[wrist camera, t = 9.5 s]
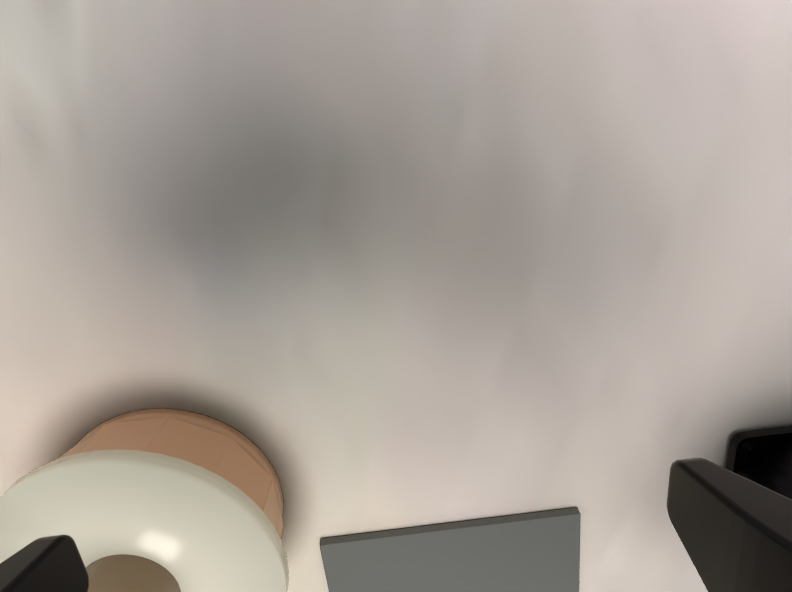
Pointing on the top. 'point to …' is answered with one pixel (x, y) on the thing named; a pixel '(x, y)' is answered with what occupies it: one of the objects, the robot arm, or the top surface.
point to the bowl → (194, 450)
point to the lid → (147, 524)
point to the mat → (461, 556)
